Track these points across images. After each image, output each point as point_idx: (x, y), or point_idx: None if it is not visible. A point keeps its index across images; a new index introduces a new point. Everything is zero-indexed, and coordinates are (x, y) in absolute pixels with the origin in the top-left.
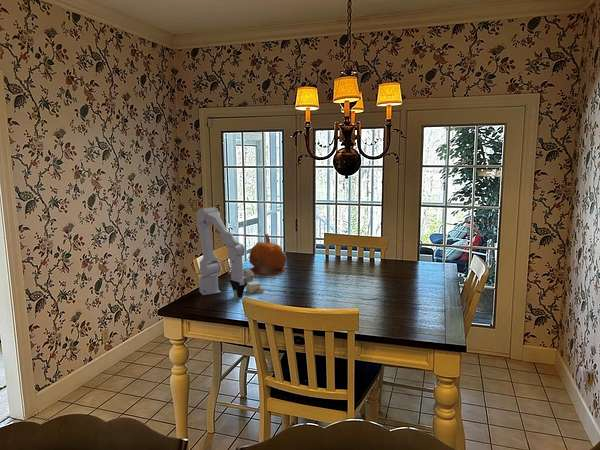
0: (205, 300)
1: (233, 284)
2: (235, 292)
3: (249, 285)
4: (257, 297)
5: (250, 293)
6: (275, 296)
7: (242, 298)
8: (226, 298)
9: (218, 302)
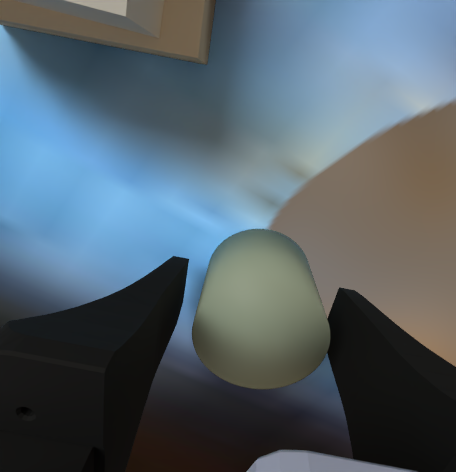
0: (130, 465)
1: (135, 419)
2: (288, 378)
3: (82, 8)
4: (416, 60)
5: (203, 63)
6: None
7: (298, 246)
8: (180, 352)
9: (240, 434)
